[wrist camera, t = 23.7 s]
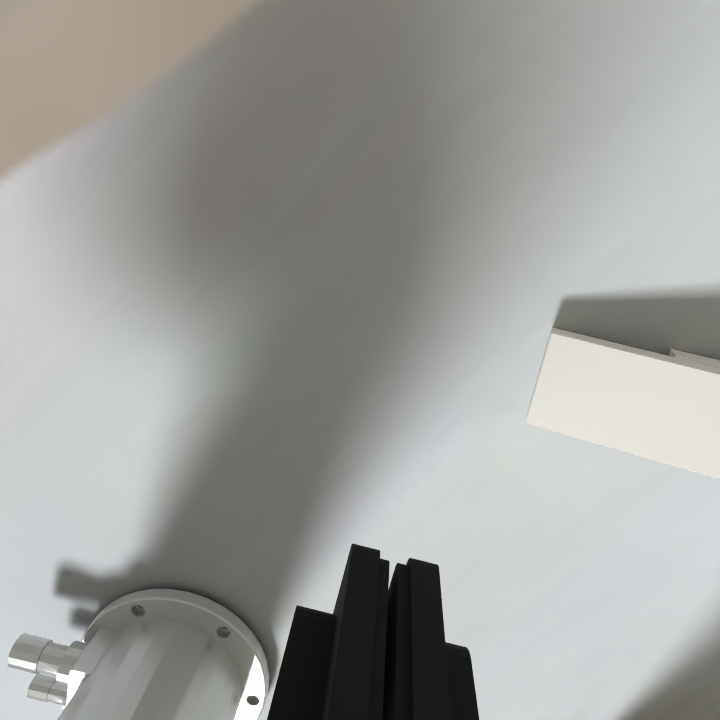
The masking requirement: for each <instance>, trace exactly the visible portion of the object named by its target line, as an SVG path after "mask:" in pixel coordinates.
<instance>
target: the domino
mask: <svg viewBox="0 0 720 720" xmlns="http://www.w3.org/2000/svg"><path fill="white" fill-rule="evenodd" d="M525 423H527V424H531V425H534V426H538V427H541V428H544V429H548V430H551V431H555V432H558V433H562V434H565V435H569V436H572V437H575V438H579V439H582V440H586V441H589V442H593V443H596V444H600V445H603V446H606V447H610V448H613V449H617V450H620V451H624V452H627V453H631V454H634V455H637V456H641V457H644V458H648V459H651V460H655V461H658V462H662V463H665V464H668V465H672V466H675V467H679V468H682V469H686V470H689V471H693V472H696V473H699V474H703V475H706V476H710V477H713V478H717V479H720V368H716V367H712V366H708V365H704V364H700V363H695V362H691V361H687V360H683V359H679V358H675V357H671V356H667V355H663V354H659V353H655V352H651V351H647V350H643V349H638V348H634V347H630V346H626V345H622V344H618V343H614V342H610V341H606V340H602V339H598V338H594V337H590V336H586V335H581V334H577V333H573V332H569V331H565V330H561V329H557V328H553V327H552V331H551V334H550V338H549V341H548V345H547V348H546V351H545V355H544V358H543V362H542V365H541V368H540V372H539V375H538V379H537V382H536V386H535V389H534V392H533V396H532V399H531V403H530V406H529V410H528V413H527V418H526V422H525Z"/></svg>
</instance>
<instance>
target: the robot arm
mask: <svg viewBox="0 0 720 720" xmlns="http://www.w3.org/2000/svg"><path fill="white" fill-rule="evenodd" d="M388 583H389V561H388V560H384V559H380V550H376V549H372V548H368V547H364V546H360V545H356V544H352V546H351V549H350V553H349V556H348V560H347V564H346V567H345V571H344V575H343V579H342V582H341V586H340V590H339V594H338V597H337V601H336V605H335V609H334V612H333V614H329V613H325V612H321V611H317V610H313V609H309V608H305V607H301V606H296V610H295V614H294V618H293V622H292V625H291V629H290V633H289V637H288V641H287V645H286V649H285V652H284V656H283V660H282V664H281V668H280V672H279V676H278V680H277V683H276V687H275V691H274V695H273V699H272V703H271V707H270V710H269V714H268V718H267V720H479V715H478V708H477V700H476V693H475V686H474V678H473V671H472V663H471V657H470V653H469V650H468V649H467V648H466V647H462V646H458V645H454V644H450V643H446V642H445V635H444V623H443V611H442V599H441V587H440V575H439V567H438V565H436V564H432V563H428V562H424V561H420V560H416V559H412V558H409V560H408V562H407V564H406V565H404V564H400V563H397V565H396V567H395V570H394V573H393V577H392V580H391V583H390V587H389V590H388ZM8 666H9V667H12V668H16V669H20V670H23V671H27V672H31V673H35V674H37V675H36V676H35V677H34V678H33V680H32V682H31V684H30V686H29V688H28V692H27V697H28V698H32V699H36V700H40V701H44V702H53V703H57V704H61V705H62V710H63V712H62V713H61V715H60V717H59V718H58V720H258V718H259V716H260V714H261V711H262V709H263V707H264V704H265V700H266V696H267V692H268V688H269V670H268V664H267V659H266V657H265V654H264V652H263V649H262V647H261V645H260V643H259V642H258V640H257V639H256V637H255V636H254V634H253V633H252V631H251V630H250V629H249V628H248V627H247V626H246V625H245V624H244V623H243V622H242V621H241V620H240V619H239V618H238V617H237V616H236V615H234V614H233V613H232V612H230V611H229V610H228V609H226V608H225V607H223V606H221V605H219V604H217V603H216V602H214V601H212V600H210V599H208V598H205V597H202V596H199V595H196V594H193V593H190V592H185V591H180V590H174V589H149V590H143V591H137V592H133V593H131V594H128V595H125V596H122V597H120V598H118V599H117V600H115V601H113V602H112V603H110V604H109V605H107V606H106V607H105V608H104V609H103V610H102V611H101V612H100V613H99V614H98V615H97V616H96V617H95V618H94V620H93V621H92V623H91V624H90V626H89V627H88V628H87V630H86V631H85V633H84V635H83V638H82V640H81V642H79V641H74V642H73V643H72V644H71V645H70V646H65V645H61V644H57V643H53V641H52V640H49V639H45V638H41V637H37V636H33V635H29V634H25V633H24V634H22V635H21V636H20V637H19V638H18V639H17V640H16V642H15V643H14V645H13V647H12V649H11V651H10V654H9V657H8ZM38 673H43V674H47V675H51V676H55V677H56V678H55V677H51V676H47V675H43V674H38Z"/></svg>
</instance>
